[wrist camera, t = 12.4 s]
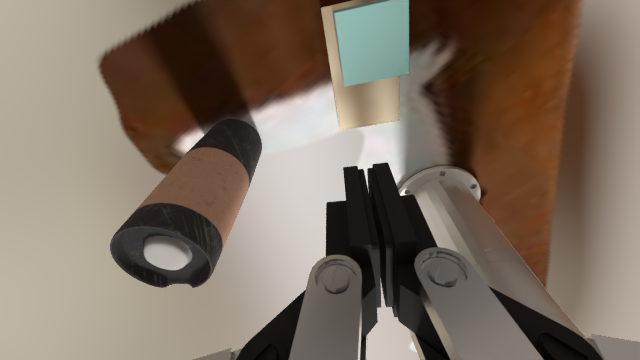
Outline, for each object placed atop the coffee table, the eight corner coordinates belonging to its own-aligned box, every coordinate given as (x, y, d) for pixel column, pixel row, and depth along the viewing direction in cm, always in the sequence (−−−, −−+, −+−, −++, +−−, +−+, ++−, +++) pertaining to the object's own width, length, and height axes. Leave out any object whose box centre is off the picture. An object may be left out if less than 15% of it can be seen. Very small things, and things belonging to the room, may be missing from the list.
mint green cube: (390, -3, 25) (408, -4, 19) (392, 60, 28) (409, 74, 22) (332, 10, 25) (334, 13, 20) (340, 70, 29) (344, 86, 23)
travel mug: (228, 104, 33) (132, 206, 17) (275, 142, 36) (233, 261, 20) (197, 143, 36) (92, 261, 20) (243, 175, 39) (184, 302, 23)
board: (394, -10, 26) (396, -10, 26) (398, 118, 34) (399, 120, 33) (320, 7, 27) (320, 7, 27) (339, 128, 35) (340, 130, 34)
